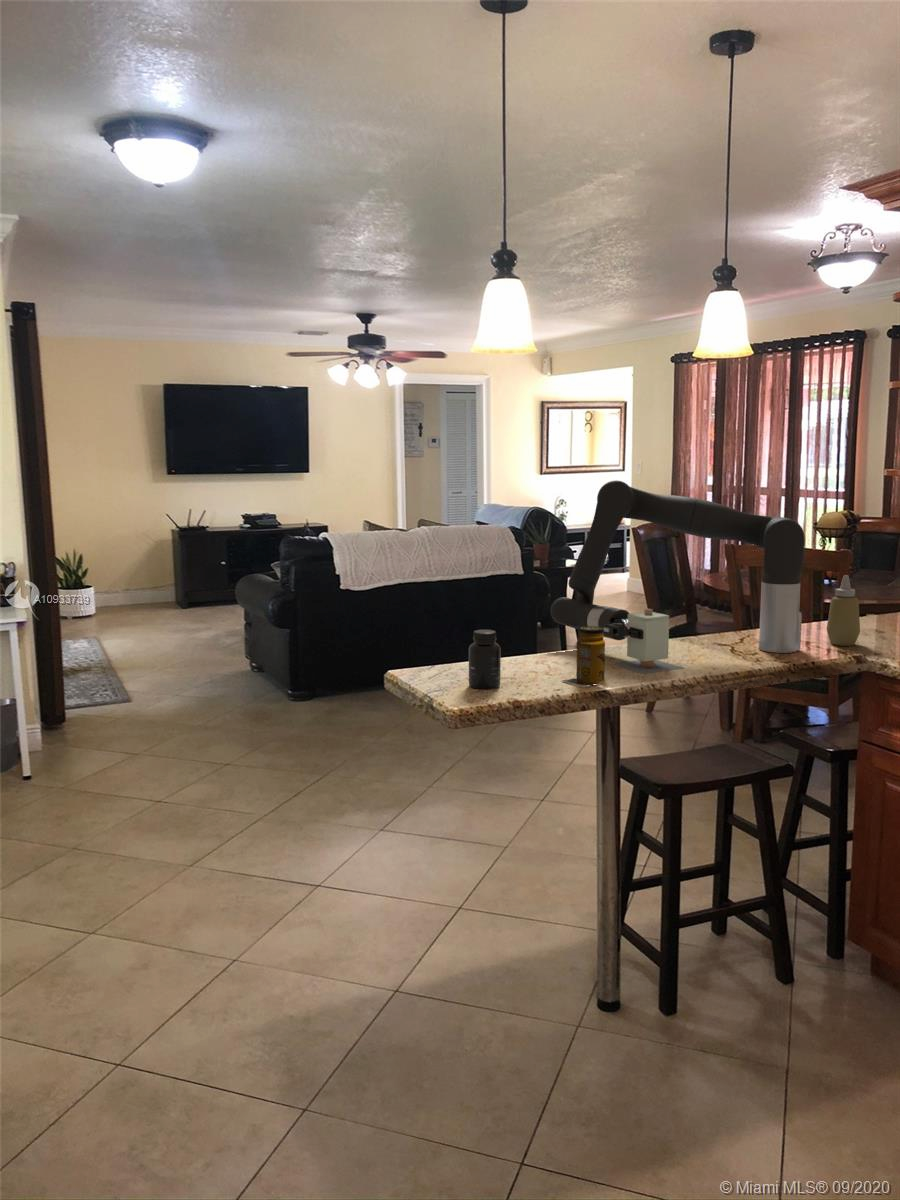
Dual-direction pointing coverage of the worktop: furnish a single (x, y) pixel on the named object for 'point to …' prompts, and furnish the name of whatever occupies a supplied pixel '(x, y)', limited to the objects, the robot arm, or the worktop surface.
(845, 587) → the squeeze bottle
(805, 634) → the worktop surface
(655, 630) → the lidded square canister
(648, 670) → the mat
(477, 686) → the supplement bottle
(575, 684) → the condiment
